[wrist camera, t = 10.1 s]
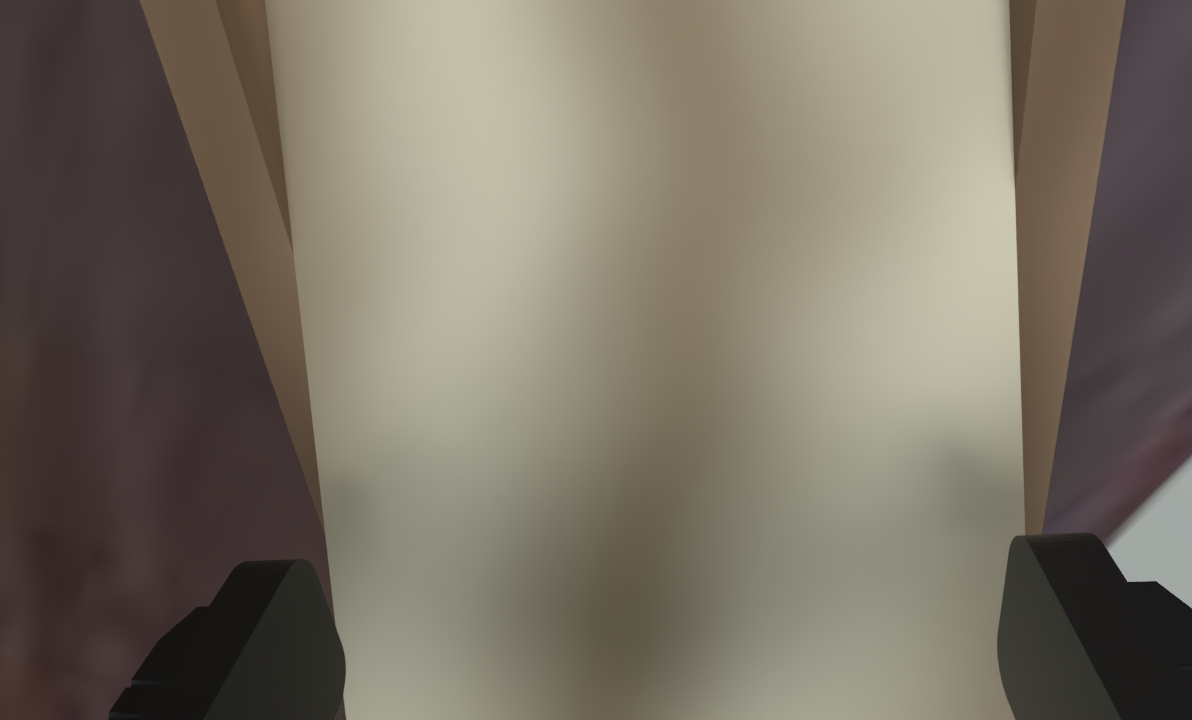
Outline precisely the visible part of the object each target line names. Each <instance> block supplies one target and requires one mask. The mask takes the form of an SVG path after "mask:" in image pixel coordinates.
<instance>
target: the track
mask: <svg viewBox="0 0 1192 720" xmlns="http://www.w3.org/2000/svg"><path fill="white" fill-rule="evenodd" d="M140 2H141V5H142V8H143V11H144V14H145V17H146V20H147V23H148V25H149V28H150V31H151V34H152V37H153V40H154V43H155V46H156V49H157V52H158V54H159V57H160V60H161V63H162V66H163V69H164V72H165V75H166V78H167V81H168V83H169V86H170V89H171V92H172V95H173V98H174V101H175V104H176V107H177V109H178V112H179V115H180V118H181V121H182V124H183V127H184V130H185V133H186V136H187V138H188V141H189V144H190V147H191V150H192V153H193V156H194V159H195V162H196V164H197V167H198V170H199V173H200V176H201V179H202V182H203V185H204V188H205V191H206V193H207V196H208V199H209V202H210V205H211V208H212V211H213V214H214V217H215V219H216V222H217V225H218V228H219V231H220V234H221V237H222V240H223V243H224V246H225V248H226V251H227V254H228V257H229V260H230V263H231V266H232V269H233V272H234V275H235V277H236V280H237V283H238V286H239V289H240V292H241V295H242V298H243V301H244V303H245V306H246V309H247V312H248V315H249V318H250V321H251V324H252V327H253V330H254V332H255V335H256V338H257V341H258V344H259V347H260V350H261V353H262V356H263V358H264V361H265V364H266V367H267V370H268V373H269V376H270V379H271V382H272V385H273V387H274V390H275V393H276V396H277V399H278V402H279V405H280V408H281V411H282V413H283V416H284V419H285V422H286V425H287V428H288V431H289V434H290V437H291V440H292V442H293V445H294V448H295V451H296V454H297V457H298V460H299V463H300V466H301V468H302V471H303V474H304V477H305V480H306V483H307V486H308V489H309V492H310V495H311V497H312V500H313V503H314V506H315V509H316V512H317V515H318V518H319V521H320V524H321V526H322V529H323V532H324V535H325V538H326V545H327V554H328V563H329V572H330V581H331V589H332V598H333V607H334V616H335V625H336V629H337V632H338V635H339V637H340V640H341V643H342V646H343V649H344V653H345V661H346V679H345V687H344V692H343V696H344V704H345V713H346V720H1015V717H1014V715H1013V712H1012V710H1011V707H1010V705H1009V702H1008V700H1007V697H1006V694H1005V691H1004V688H1003V684H1002V680H1001V676H1000V671H999V664H998V655H997V635H998V627H999V620H1000V612H1001V605H1002V598H1003V590H1004V583H1005V576H1006V568H1007V561H1008V554H1009V548H1010V544H1011V541H1012V540H1013V538H1014V537H1015V536H1018V535H1042V529H1043V523H1044V516H1045V510H1046V504H1047V497H1048V491H1049V485H1050V478H1051V472H1052V466H1053V459H1054V453H1055V447H1056V440H1057V434H1058V428H1059V421H1060V415H1061V409H1062V402H1063V396H1064V390H1065V383H1066V377H1067V371H1068V364H1069V358H1070V352H1071V345H1072V339H1073V333H1074V326H1075V320H1076V314H1077V307H1078V301H1079V295H1080V288H1081V282H1082V276H1083V269H1084V263H1085V257H1086V250H1087V244H1088V238H1089V231H1090V225H1091V219H1092V212H1093V206H1094V200H1095V193H1096V187H1097V181H1098V174H1099V168H1100V162H1101V155H1102V149H1103V143H1104V136H1105V130H1106V124H1107V117H1108V111H1109V105H1110V98H1111V92H1112V86H1113V79H1114V73H1115V67H1116V60H1117V54H1118V48H1119V41H1120V35H1121V29H1122V22H1123V16H1124V10H1125V3H1126V0H140Z"/></svg>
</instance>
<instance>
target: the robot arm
mask: <svg viewBox="0 0 1192 720" xmlns="http://www.w3.org/2000/svg"><path fill="white" fill-rule="evenodd" d="M997 655H998V664H999V671H1000V676H1001V680H1002V684H1003V688H1004V691H1005V694H1006V697H1007V700H1008V702H1009V705H1010V707H1011V710H1012V712H1013V715H1014V717H1015V720H1192V608H1190V607H1189V606H1188V605H1186V604H1185V603H1184V602H1182V601H1181V600H1180V599H1179V598H1177V597H1176V596H1175V595H1173V594H1172V593H1170V592H1169V591H1168V590H1167V589H1165V588H1164V587H1163V586H1161V585H1160V584H1159V583H1158V582H1156V581H1152V582H1151V581H1150V582H1127V580H1126V579H1125V578H1124V576H1123V574H1122V573H1121V571H1120V570H1119V568H1118V566H1117V565H1116V563H1115V562H1114V560H1113V559H1112V557H1111V555H1110V554H1109V552H1108V551H1107V549H1106V548H1105V546H1104V545H1103V543H1102V542H1101V540H1100V539H1099V538H1098V537H1097V536H1095V535H1094V534H1092V533H1070V534H1042V535H1018V536H1015V537H1014V538H1013V540H1012V541H1011V544H1010V548H1009V554H1008V561H1007V568H1006V576H1005V583H1004V590H1003V598H1002V605H1001V612H1000V620H999V627H998V635H997ZM345 679H346V661H345V653H344V649H343V646H342V643H341V640H340V637H339V635H338V632H337V629H336V626H335V624H334V621H333V618H332V615H331V613H330V610H329V607H328V604H327V601H326V599H325V596H324V593H323V590H322V588H321V585H320V582H319V579H318V576H317V574H316V571H315V569H314V567H313V566H312V564H311V563H310V562H309V561H307V560H303V559H297V560H270V561H246V562H242V563H240V564H239V565H237V566H236V567H235V568H234V570H233V571H232V572H231V574H230V575H229V577H228V578H227V580H226V581H225V583H224V584H223V586H222V587H221V589H220V590H219V592H218V594H217V595H216V597H215V598H214V600H213V601H212V603H211V604H210V606H209V607H197V608H196V609H194V610H193V611H192V612H191V613H190V614H189V615H187V616H186V617H185V618H184V619H183V620H182V621H181V622H179V623H178V624H177V625H176V626H175V627H174V628H172V629H171V630H170V631H169V632H168V633H167V634H165V635H164V636H163V637H162V638H161V639H160V640H159V641H158V642H157V643H156V645H155V646H154V648H153V649H152V651H151V652H150V653H149V655H148V656H147V658H146V659H145V661H144V662H143V664H142V665H141V667H140V668H139V669H138V671H137V672H136V674H135V675H134V677H133V678H132V685H131V687H130V688H125V690H124V691H123V693H122V694H121V696H120V697H119V699H118V700H117V701H116V703H115V704H114V706H113V707H112V709H111V710H110V712H109V714H110V716H109V719H108V720H334V717H335V715H336V713H337V710H338V708H339V705H340V702H341V700H342V696H343V692H344V687H345Z"/></svg>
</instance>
